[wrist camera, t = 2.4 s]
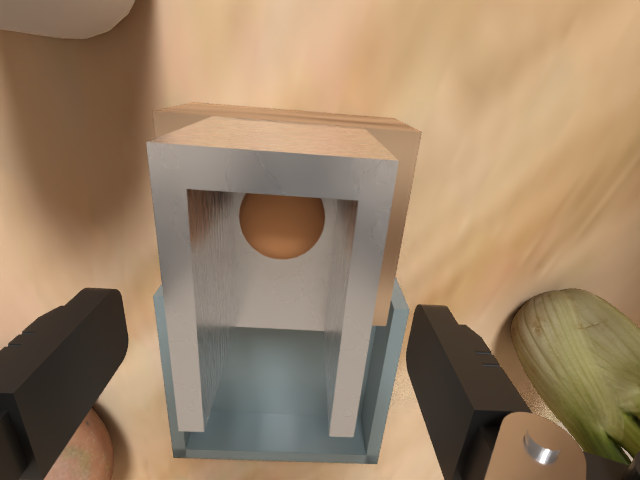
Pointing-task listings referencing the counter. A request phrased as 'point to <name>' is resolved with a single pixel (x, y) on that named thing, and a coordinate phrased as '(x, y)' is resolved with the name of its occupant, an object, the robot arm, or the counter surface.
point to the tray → (287, 395)
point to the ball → (281, 224)
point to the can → (63, 17)
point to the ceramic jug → (86, 453)
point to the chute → (261, 271)
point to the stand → (385, 130)
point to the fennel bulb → (584, 368)
